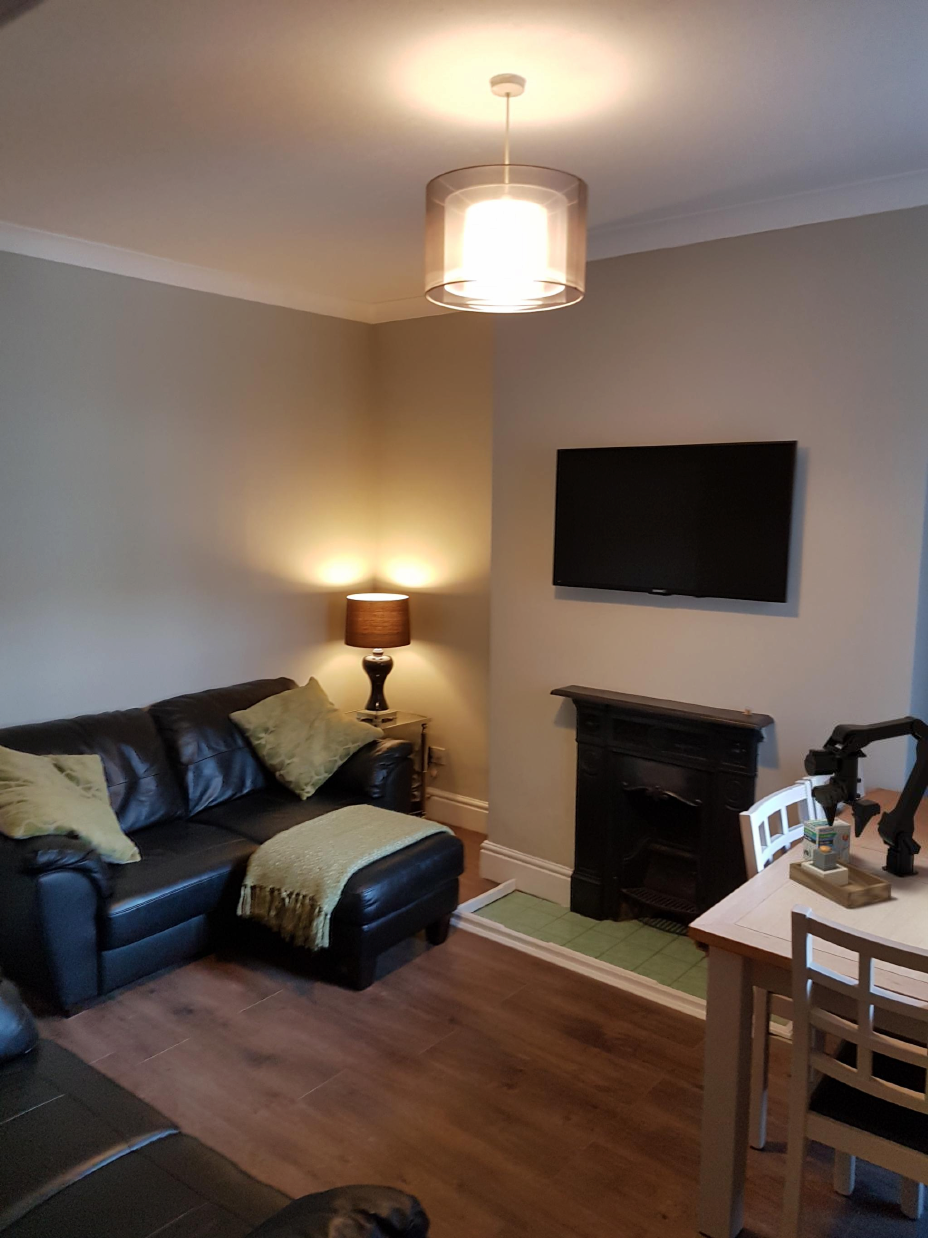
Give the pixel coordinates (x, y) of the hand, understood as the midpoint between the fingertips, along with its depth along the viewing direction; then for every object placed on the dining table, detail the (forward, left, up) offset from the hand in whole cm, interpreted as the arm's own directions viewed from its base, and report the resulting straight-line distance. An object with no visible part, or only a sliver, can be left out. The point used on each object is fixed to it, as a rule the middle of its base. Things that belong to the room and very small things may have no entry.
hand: (843, 831), depth 240 cm
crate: (+7, +6, -12) cm, 15 cm away
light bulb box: (-4, -10, -12) cm, 16 cm away
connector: (+8, +2, -11) cm, 14 cm away
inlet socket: (+8, +2, -12) cm, 15 cm away
